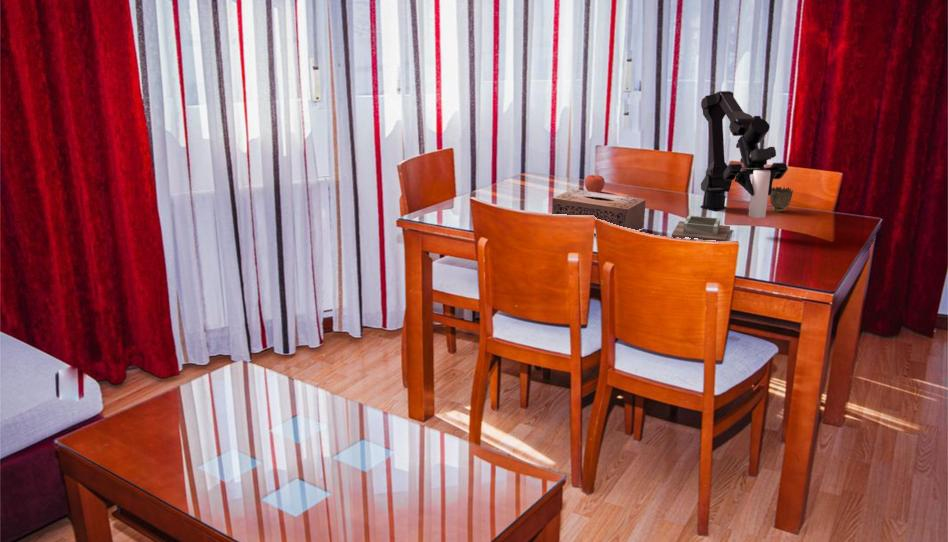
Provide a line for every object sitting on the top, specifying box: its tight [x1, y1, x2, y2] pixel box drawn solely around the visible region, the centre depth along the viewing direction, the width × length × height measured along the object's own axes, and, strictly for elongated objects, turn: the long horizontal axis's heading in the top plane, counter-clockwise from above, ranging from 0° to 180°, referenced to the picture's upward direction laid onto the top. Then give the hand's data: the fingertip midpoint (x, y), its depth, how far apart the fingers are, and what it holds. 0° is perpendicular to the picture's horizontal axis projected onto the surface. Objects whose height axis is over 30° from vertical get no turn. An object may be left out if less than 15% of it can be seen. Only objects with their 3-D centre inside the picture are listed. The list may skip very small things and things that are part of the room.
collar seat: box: [671, 214, 731, 241], centre depth 264 cm, size 16×16×4 cm
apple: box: [584, 173, 606, 193], centre depth 314 cm, size 7×7×8 cm
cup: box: [769, 186, 794, 213], centre depth 290 cm, size 8×7×8 cm
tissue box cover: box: [551, 188, 646, 230], centre depth 270 cm, size 26×14×10 cm, turn 58°
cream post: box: [748, 170, 771, 219], centre depth 259 cm, size 5×5×14 cm
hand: (761, 194), depth 258 cm, fingers closed on cream post, 5 cm apart
